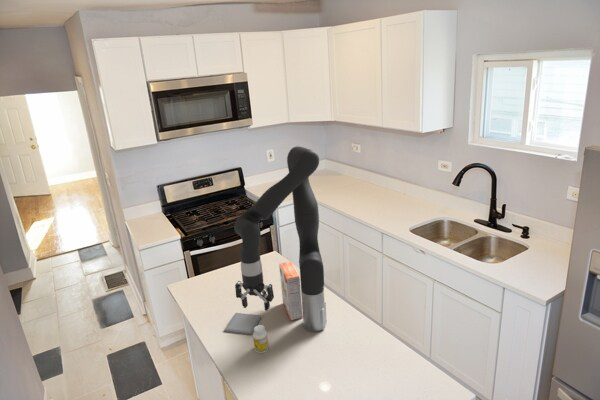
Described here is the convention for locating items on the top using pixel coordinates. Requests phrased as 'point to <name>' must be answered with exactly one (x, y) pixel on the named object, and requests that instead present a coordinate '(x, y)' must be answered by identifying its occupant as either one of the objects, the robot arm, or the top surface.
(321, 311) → the robot arm
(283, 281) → the cracker box
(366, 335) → the top surface
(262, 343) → the supplement bottle
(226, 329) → the plate
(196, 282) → the top surface
